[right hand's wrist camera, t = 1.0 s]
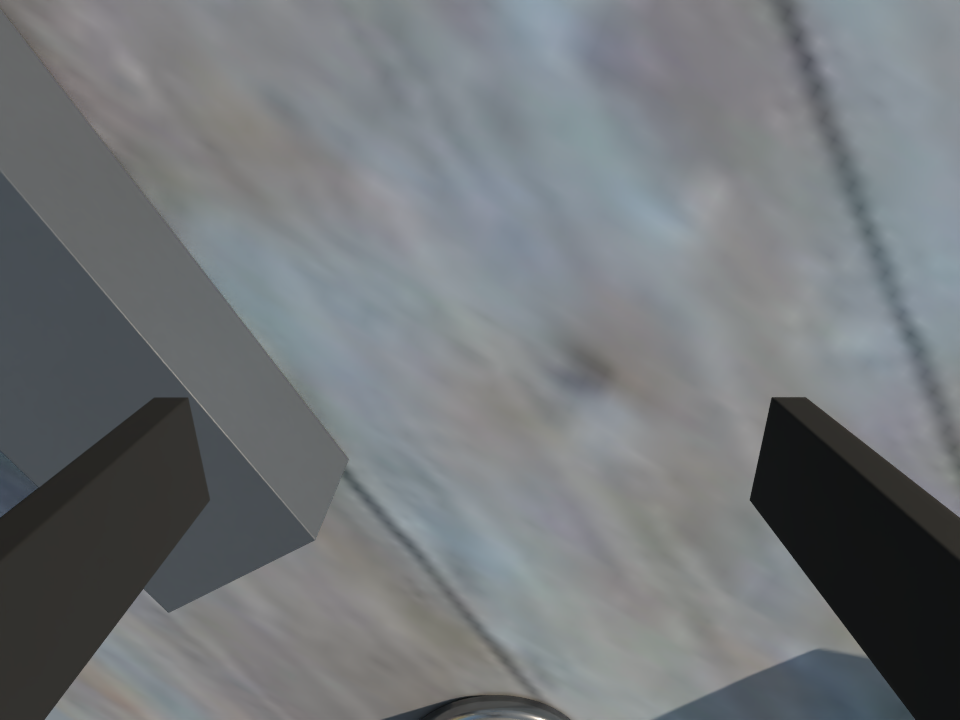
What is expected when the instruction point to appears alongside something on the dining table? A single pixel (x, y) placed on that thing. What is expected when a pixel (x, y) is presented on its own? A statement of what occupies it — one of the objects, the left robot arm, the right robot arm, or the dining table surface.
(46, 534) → the right robot arm
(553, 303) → the dining table surface
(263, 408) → the wide beam
